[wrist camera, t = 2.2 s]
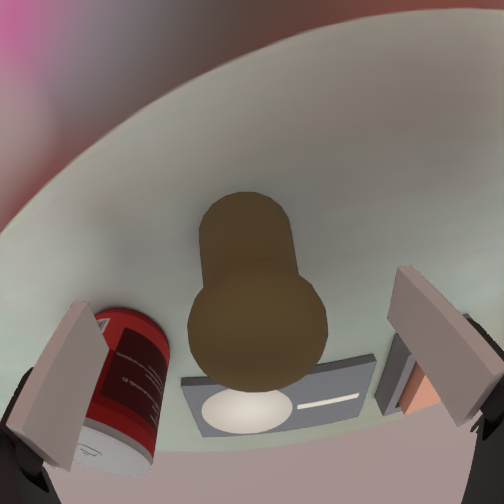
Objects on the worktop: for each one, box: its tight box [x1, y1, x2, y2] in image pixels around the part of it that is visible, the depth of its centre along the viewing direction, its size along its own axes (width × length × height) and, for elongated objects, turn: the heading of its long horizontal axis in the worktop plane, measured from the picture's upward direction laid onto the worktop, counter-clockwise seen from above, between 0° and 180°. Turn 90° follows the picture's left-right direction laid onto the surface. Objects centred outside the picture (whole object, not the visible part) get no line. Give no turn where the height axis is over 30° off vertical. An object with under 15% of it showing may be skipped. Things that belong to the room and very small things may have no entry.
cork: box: [187, 192, 328, 393], centre depth 14 cm, size 6×6×11 cm
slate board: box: [181, 354, 377, 437], centre depth 26 cm, size 18×10×1 cm, turn 94°
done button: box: [398, 361, 442, 415], centre depth 24 cm, size 7×7×3 cm
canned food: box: [73, 309, 170, 477], centre depth 17 cm, size 8×8×11 cm
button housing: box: [375, 314, 474, 416], centre depth 25 cm, size 10×10×3 cm
